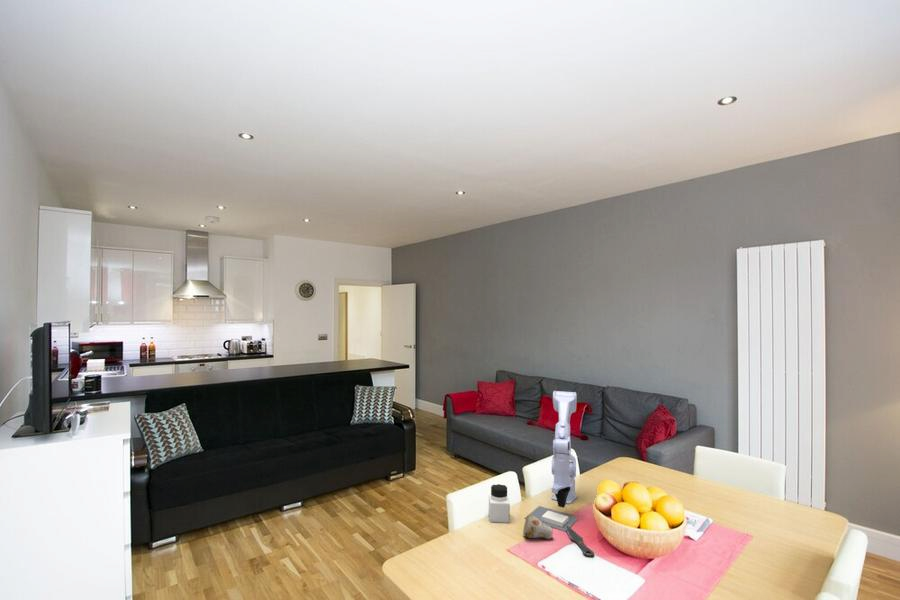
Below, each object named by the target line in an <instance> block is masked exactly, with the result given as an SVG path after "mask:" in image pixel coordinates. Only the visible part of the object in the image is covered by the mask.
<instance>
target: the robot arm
mask: <svg viewBox="0 0 900 600" xmlns="http://www.w3.org/2000/svg"><path fill="white" fill-rule="evenodd" d="M577 394H578V393H577V392H576V391H574V392H573V391H561V390H553V392H552V404H553V409H554V411H555V412H557V413H558V422H557V423H556V424H555V429H554V430H555V432H554V439H553V440H552V452H553V455H552V457H551V458H552V460H551V474H552V476H553V483H552V487H551V494H553V496H551V498H550V499H551V500H555V501H556V502H557V506H558V508H563V509H564V508H566V504H568V505H570V504H572V502H574V500H575V499H577V498H578V495H577V494H576V480H575V479H576V477H577V462H576V461H577V460H576V458H575V456H574V455H573V454H572V453H571V452H572V451H571V450H572V441H571V423H570V421H571V416H572V414H573V413H576V411H577V403H578V401H577Z"/></svg>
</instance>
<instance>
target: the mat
mask: <svg viewBox="0 0 900 600" xmlns="http://www.w3.org/2000/svg"><path fill="white" fill-rule="evenodd" d="M547 511H552V512H555V513H558V514H562V515H565V516H568V517H569V521H568V522H567V523H566V524H565V525H567V526H568V527H570V528H572V526H573V525H575V523H576V522H577V521H578V520H577V519H578V518H579V517H578V516H574V515H573V514H568V513H564V512H561V511H559V510H558V511H557V510H554V509H551V508H548V507H544V506H541V505H538V506H537V507H536V508H535V509H533V511H532V510H531V512H530V513H529V514H528V515H533V516H535V517H536V518H538V519H539V520H540V521H541V522H542V523H543V524H545V525H547V526H550V527H551V528H552V529H555V530H559V531H562V532H564V531H565V532H564V533H567V530H566V527H565V525H564V526H563V527H560V526H557V525H554V524H550V523H547V522H544V521H542V515H544V514H545V513H546V512H547ZM526 518H527V516H525V517H524V519H525V520H526ZM576 520H577V521H576Z"/></svg>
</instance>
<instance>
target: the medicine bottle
mask: <svg viewBox="0 0 900 600" xmlns="http://www.w3.org/2000/svg"><path fill="white" fill-rule="evenodd" d="M510 509H511V508H510V500H509V497H508V486H507V485H505V484H503V483H494V484H492V485H491V486H490V494H489V495H488V517H489V522H490V523H506V524H507V523H508V524H509V523H510Z"/></svg>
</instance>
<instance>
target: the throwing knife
mask: <svg viewBox="0 0 900 600" xmlns="http://www.w3.org/2000/svg"><path fill="white" fill-rule="evenodd" d="M565 527H566V530H567V532H566V533H567V534H568V537H569V539H570V540H571V541H573V542H575V543H576V545H578V546H579V548H580V550H581V553H582V555H583V554H584V555H583V556H584V557H588V558H593V557H594V556H595V552H594V551H593V550H591V549H590V548H589V547H588V546H587V545H586V544H585V543H584V542H583V539H584V538H583V537H582V536H581V535H579V533H578V532H576V531H575V530H574V529H572V527H568V526H567V525H565Z"/></svg>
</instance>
